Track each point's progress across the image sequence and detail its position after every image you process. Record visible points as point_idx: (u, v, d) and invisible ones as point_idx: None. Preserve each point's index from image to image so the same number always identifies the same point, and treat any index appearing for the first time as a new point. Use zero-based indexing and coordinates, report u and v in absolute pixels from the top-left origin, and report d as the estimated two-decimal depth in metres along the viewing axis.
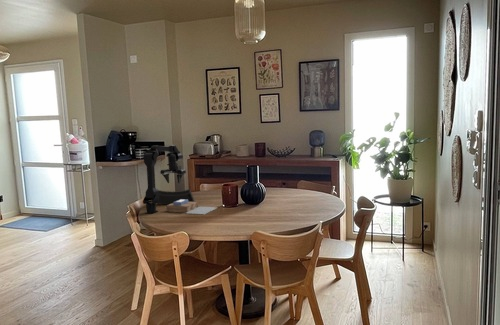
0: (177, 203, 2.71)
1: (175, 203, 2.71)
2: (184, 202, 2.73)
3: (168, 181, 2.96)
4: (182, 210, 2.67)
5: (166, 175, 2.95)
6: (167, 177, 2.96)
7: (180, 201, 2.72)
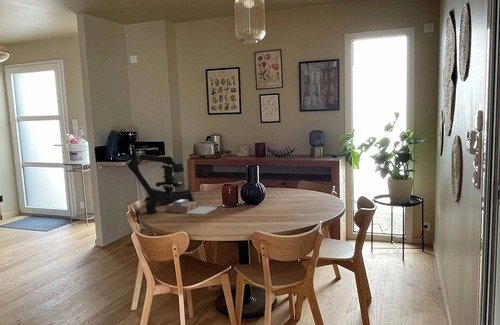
0: (177, 203, 2.71)
1: (175, 203, 2.71)
2: (184, 202, 2.73)
3: None
4: (182, 210, 2.67)
5: (167, 188, 2.76)
6: None
7: (180, 201, 2.72)
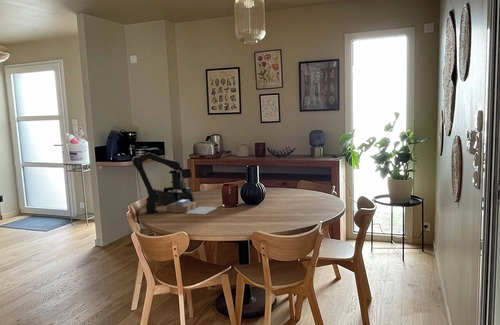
0: (179, 203, 2.70)
1: (177, 203, 2.71)
2: (186, 202, 2.73)
3: None
4: (182, 210, 2.67)
5: (175, 193, 2.74)
6: None
7: (182, 201, 2.72)
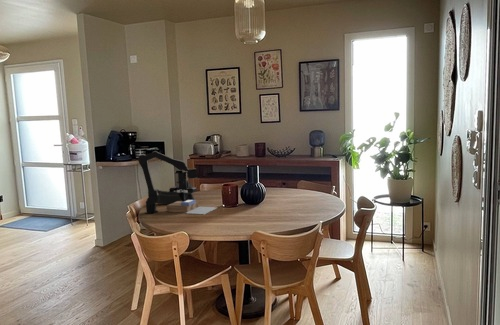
0: (185, 203, 2.68)
1: (183, 203, 2.69)
2: (192, 202, 2.71)
3: None
4: (182, 210, 2.67)
5: (181, 193, 2.72)
6: None
7: (188, 201, 2.70)
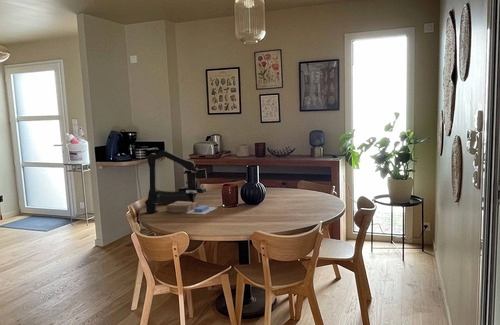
0: (197, 210, 2.65)
1: (200, 210, 2.64)
2: None
3: None
4: (182, 210, 2.67)
5: (190, 194, 2.69)
6: None
7: None
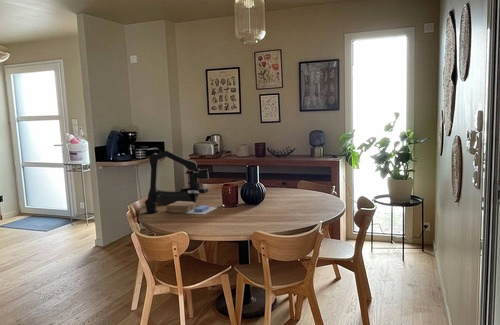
0: (197, 210, 2.65)
1: (200, 210, 2.64)
2: None
3: None
4: (182, 210, 2.67)
5: (192, 194, 2.69)
6: None
7: None
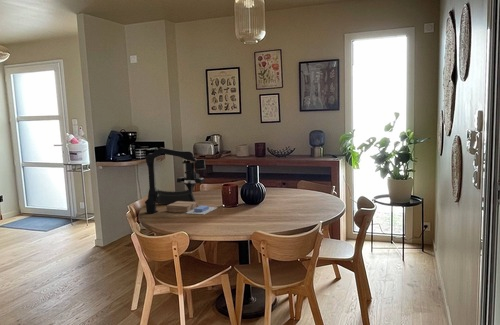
0: (197, 210, 2.65)
1: (200, 210, 2.64)
2: None
3: None
4: (182, 210, 2.67)
5: None
6: None
7: None
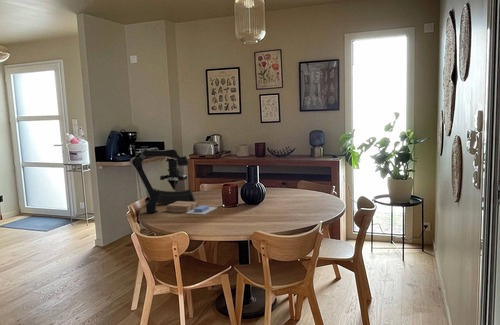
0: (197, 210, 2.65)
1: (200, 210, 2.64)
2: None
3: None
4: (182, 210, 2.67)
5: None
6: None
7: None
